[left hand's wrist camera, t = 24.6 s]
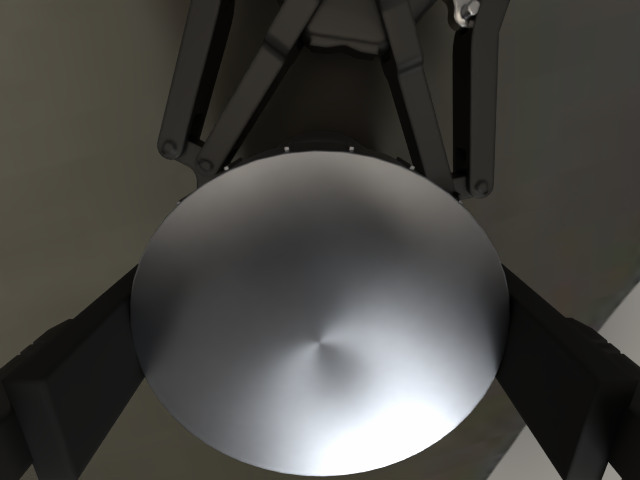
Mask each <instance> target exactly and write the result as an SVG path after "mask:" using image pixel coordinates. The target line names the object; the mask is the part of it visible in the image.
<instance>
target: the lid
mask: <svg viewBox="0 0 640 480" xmlns="http://www.w3.org/2000/svg"><path fill="white" fill-rule="evenodd" d="M414 168H415V167H414V166H412V165H411V164H409V163H407V162H406V161H404V160H403V159H401V158H399V157H397V159H394V158H392V157H390V156H388V155H386V154H383V153H380V152H377V151H373V150H370V149H367V148H364V147H360V146H354V145H352V144H351V143H350V142H349V141H345V144H343V143H332V142H308V143H297V144H294V142H293V141H290V142H289V143H288V144H287V145H285V146H281V147H277V148H272V149H269V150H266V151H263V152H261V153H258V154H255V155H253V156H250V157H248V158H246V159H244V160H242V158H239V159H237V160H236V161H234V162H232V163H231V164H229V165H227V166H226V167H224V169H225V170H224V171H223V172H221V173H220V174H218V175H217V176H215V177H213V178H212V179H210V180H209V181H207V182H206V183H204V184H203V185H201V186H200V187H199V188H198V189H196V190H195V191H193V192H192V193H190V194H189V195H187V196H186V197H184V198H183V199H181V200H179V201H178V202H177V203H176V204H177V206H176V207H175V208H174V209H173V210H172V211H171V212H170V213H169V214H168V215H167V216H166V218H165V219H164V220H163V222H162V223H161V224H160V226H159V227H158V229H157V230H156V231H155V233H154V234H153V236H152V237H151V239H150V241H149V243H148V245H147V247H146V249H145V251H144V253H143V255H142V257H141V259H140V262H139V265H138V268H137V271H136V274H135V277H134V280H133V287H132V293H131V300H130V327H131V333H132V338H133V343H134V348H135V352H136V355H137V358H138V362H139V365H140V367H141V369H142V371H143V373H144V375H145V378H146V380H147V382H148V384H149V385H150V387H151V389H152V390H153V392H154V393H155V395H156V396H157V398H158V399H159V401H160V402H161V403H162V404H163V406H164V407H165V408H166V409H167V410H168V411H169V413H170V414H171V415H172V416H173V417H174V418H175V419H176V420H177V421H178V422H179V423H180V424H181V425H183V426H184V427H185V428H186V429H187V430H188V431H189V432H191V433H192V434H193V435H195V436H196V437H197V438H199V439H200V440H202V441H203V442H204V443H206V444H208V445H209V446H211V447H213V448H215V449H216V450H218V451H220V452H221V453H223V454H225V455H228V456H230V457H232V458H235V459H237V460H239V461H241V462H244V463H247V464H250V465H253V466H256V467H259V468H263V469H267V470H271V471H276V472H280V473H287V474H295V475H304V476H334V475H346V474H353V473H359V472H365V471H369V470H373V469H377V468H381V467H385V466H387V465H390V464H393V463H396V462H398V461H401V460H404V459H406V458H408V457H410V456H412V455H414V454H416V453H419V452H421V451H423V450H424V449H426V448H428V447H429V446H431V445H432V444H434V443H436V442H437V441H439V440H440V439H442V438H443V437H444V436H446V435H447V434H448V433H449V432H451V431H452V430H453V429H454V428H456V427H457V426H458V425H459V424H460V423H461V422H462V421H463V420H464V419H465V418H466V417H467V416H468V415H469V414H470V413H471V412H472V411H473V409H474V408H475V407H476V406H477V404H478V403H479V402H480V401H481V399H482V398H483V397H484V395H485V394H486V392H487V390H488V389H489V387H490V385H491V384H492V382H493V380H494V379H495V376H496V374H497V371H498V369H499V367H500V364H501V362H502V360H503V356H504V352H505V349H506V344H507V340H508V335H509V325H510V300H509V292H508V287H507V282H506V277H505V273H504V270H503V268H502V265H501V262H500V260H499V257H498V255H497V252H496V250H495V248H494V247H493V245H492V243H491V241H490V240H489V238H488V236H487V234H486V233H485V231H484V230H483V228H482V227H481V226H480V225H479V223H478V222H477V221H476V220H475V218H474V217H473V216H472V215H471V213H470V212H469V211H468V210H467V209H466V208H465V207H464V206H463V205H462V203H463V202H462V201H461V200H459V199H458V198H456V197H455V196H453V195H452V194H450V193H449V192H447V191H445V190H444V189H442V188H441V187H439V186H438V185H437V184H435V183H434V182H432V181H431V180H429V179H428V178H426V177H425V176H423V175H422V174H420V173H418V172H417V171H415V170H414Z"/></svg>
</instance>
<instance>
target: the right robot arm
mask: <svg viewBox="0 0 640 480" xmlns="http://www.w3.org/2000/svg"><path fill="white" fill-rule="evenodd" d="M277 1H278V3H279V5H280V7H281V9H280V10H279V12H278V14H277V16H276V17H275V19H274V21H273V22H272V24H271V26H270V28H269V29H268V31H267V33H266V35H265V38H264V41H263V44H262V46H261V48H260V50H259V51H258V53H257V55H256V56H255V58H254V60H253V62H252V63H251V65H250V67H249V68H248V70H247V72H246V73H245V75H244V77H243V79H242V80H241V82H240V84H239V85H238V87H237V89H236V90H235V92H234V94H233V96H232V97H231V99H230V101H229V102H228V104H227V106H226V108H225V109H224V111H223V113H222V114H221V116H220V118H219V119H218V121H217V123H216V125H215V126H214V128H213V130H212V131H211V133H210V135H209V136H208V138H207V140H206V142H203V141H201V140H200V136H201V132H202V129H203V125H204V121H205V118H206V114H207V111H208V107H209V103H210V100H211V96H212V93H213V89H214V85H215V82H216V78H217V74H218V71H219V67H220V64H221V60H222V56H223V53H224V49H225V46H226V42H227V38H228V35H229V31H230V27H231V24H232V19H233V14H234V5H235V0H191V4H190V8H189V12H188V16H187V21H186V25H185V29H184V33H183V37H182V42H181V46H180V50H179V54H178V58H177V63H176V67H175V71H174V75H173V79H172V84H171V88H170V92H169V96H168V100H167V105H166V109H165V113H164V117H163V121H162V125H161V130H160V134H159V138H158V142H157V148H158V151H159V153H160V154H161V155H162V156H163V157H164V158H166V159H170V160H173V159H174V160H176V161H179V162H181V163H183V164H185V165H187V166H188V167H190V168H191V169H192V170H193V171H194V173H195V174H196V177H197V189H198V188H199V187H200V186H201V185H203V184H204V183H206V182H207V181H209V180H210V179H212V178H213V177H215V176H217V175H218V174H220V173H221V172H223V171H224V170H225V169H224V167H226V166H227V165H229V164H231V163H230V162H231V161H232V159H233V157H234V156H235V154H236V153H237V151H238V149H239V148H240V146H241V145H242V143H243V141H244V140H245V138H246V136H247V135H248V133H249V132H250V130H251V128H252V127H253V125H254V124H255V122H256V120H257V119H258V117H259V116H260V114H261V112H262V111H263V109H264V108H265V106H266V104H267V103H268V101H269V99H270V98H271V96H272V95H273V93H274V91H275V90H276V88H277V87H278V85H279V83H280V82H281V80H282V79H283V77H284V75H285V74H286V72H287V71H288V69H289V68H290V66H291V65H292V64H293V63H294V61H295V60H296V58H297V57H298V55H299V54H300V52H301V50H302V49H303V47H304V46H305V47H307V48H309V49H311V52H316V53H323V54H329V53H336V52H344V53H347V54H349V55H351V56H353V57H355V58H359V59H366V60H373V59H374V58H378V57H379V58H380V62H381V65H382V68H383V72H384V74H385V77H386V78H387V80H388V82H389V86H390V89H391V92H392V96H393V99H394V102H395V106H396V109H397V112H398V116H399V119H400V123H401V126H402V129H403V133H404V136H405V139H406V143H407V146H408V149H409V153H410V156H411V160H412V163H413V166H414V167H415V168H414V170H415V171H417V172H418V173H420V174H422V175H423V176H425V177H426V178H428V179H429V180H431V181H432V182H434V183H435V184H437V185H438V186H439V187H441V188H442V189H444V190H445V191H447V192H449V193H450V194H452V195H453V196H455V197H456V198H458V199H459V200H462V199H467V198H471V197H476V198H484V197H486V196H488V195H489V194H490V193H491V191H492V190H493V186H494V159H495V130H496V101H497V71H498V42H499V31H500V28H501V25H502V22H503V19H504V16H505V13H506V10H507V7H508V5H509V2H510V0H443V1H444V2H445V4H446V5H447V8H448V24H449V26H450V27H451V28H452V29H453V30H455V31H456V33H455V37H454V43H453V172H452V173H451V172H450V168H449V164H448V160H447V156H446V153H445V149H444V145H443V141H442V137H441V134H440V130H439V126H438V122H437V118H436V115H435V111H434V107H433V103H432V99H431V96H430V92H429V88H428V84H427V80H426V77H425V73H424V69H423V53H422V48H421V45H420V41H419V37H418V33H417V29H416V25H415V24H416V23H417V22H418V21H419V20H420V19H421V18H422V17H423V15H424V14H425V13H426V12H427V11H428V10H429V9H430V8H431V6H432V5H433V4H434V3H435V2H436V1H437V0H277Z"/></svg>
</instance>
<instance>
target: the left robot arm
mask: <svg viewBox="0 0 640 480" xmlns="http://www.w3.org/2000/svg"><path fill="white" fill-rule="evenodd" d="M138 265H139V264H137V265H136V266H135V267H134V268H133V269H132V270H130V271H129V272H128V273H127V274H126V275H125V276H123V277H122V278H121V279H120V280H119V281H117V282H116V283H115V284H114V285H113V286H112V287H110V288H109V289H108V290H107V291H106V292H105V293H103V294H102V295H101V296H100V297H99V298H97V299H96V300H95V301H94V302H93V303H92V304H90V305H89V306H88V307H87V308H86V309H85V310H83V311H82V312H81V313H80V314H79V315H77V316H76V317H75V318H74V319H68V320H66V321H64V322H62V323H60V324H59V325H57V326H55V327H53V328H51V329H49V330H48V331H46V332H45V333H44V334H43V335H41V336H40V337H39V338H38V339H37V340H35V341H34V342H33V345H29V346H28V347H27V348H25V349H24V350H23V351H22V352H21V354H20V355H17V356H16V357H14V358H13V359H12V360H11V361H9V362H8V363H7V364H6V365H5V366H3V367H2V368H1V369H0V480H19V479H20V478H21V477H22V475H23V474H24V473H25V472H26V470H27V469H28V468H29V467H30V465H31V464H32V463H33V466H34V468H35V471H36V474H37V476H38V479H39V480H78V478H79V477H80V475H81V474H82V472H83V471H84V469H85V467H86V466H87V464H88V463H89V461H90V460H91V458H92V457H93V455H94V454H95V452H96V451H97V449H98V448H99V446H100V445H101V443H102V441H103V440H104V438H105V437H106V435H107V434H108V432H109V431H110V429H111V428H112V426H113V425H114V423H115V422H116V420H117V419H118V417H119V416H120V414H121V412H122V411H123V409H124V408H125V406H126V405H127V403H128V402H129V400H130V399H131V397H132V396H133V394H134V393H135V391H136V390H137V388H138V387H139V385H140V383H141V382H142V380H143V379H144V377H145V375H144V373H143V371H142V369H141V367H140V365H139V362H138V358H137V355H136V352H135V348H134V343H133V338H132V333H131V327H130V300H131V293H132V287H133V280H134V277H135V274H136V271H137V268H138ZM501 265H502V268H503V270H504V273H505V277H506V282H507V287H508V292H509V300H510V325H509V335H508V340H507V344H506V349H505V352H504V356H503V360H502V362H501V364H500V367H499V369H498V371H497V374H496V376H495V377H496V378H497V380H498V382H499V383H500V385H501V386H502V388H503V389H504V391H505V392H506V394H507V395H508V397H509V398H510V400H511V401H512V403H513V404H514V406H515V408H516V409H517V411H518V412H519V414H520V415H521V417H522V418H523V420H524V421H525V423H526V424H527V426H528V427H529V429H530V430H531V432H532V433H533V435H534V437H535V438H536V439H537V441H538V443H539V444H540V446H541V447H542V449H543V450H544V452H545V453H546V455H547V456H548V458H549V459H550V461H551V462H552V464H553V465H554V467H555V469H556V470H557V472H558V473H559V475H560V476H561V478H562V479H563V480H602V477H603V474H604V472H605V469H606V466H607V464H608V462H609V463H610V464H611V466H612V467H613V468H614V469H615V470H616V472H617V473H618V474H619V475H620V477H621V478H622V480H640V367H639V366H638V365H637V364H636V363H634V362H633V361H632V360H631V359H629V358H628V357H627V356H626V355H624V354H621V353H620V351H619V350H618V349H617V348H616V347H614V346H613V345H612V344H611V343H608V342H607V340H606V339H604V338H603V337H602V336H601V335H600V334H598V333H597V332H596V331H595V330H593V329H592V328H590V327H588V326H586V325H585V324H583V323H581V322H579V321H577V320H575V319H573V318H565V317H564V316H563V315H562V314H560V313H559V312H558V311H557V310H556V309H555V308H553V307H552V306H551V305H550V304H549V303H547V302H546V301H545V300H544V299H543V298H542V297H540V296H539V295H538V294H537V293H536V292H535V291H533V290H532V289H531V288H530V287H529V286H527V285H526V284H525V283H524V282H523V281H522V280H520V279H519V278H518V277H517V276H516V275H515V274H513V273H512V272H511V271H510V270H509V269H507V268H506V267H505V266H504V265H503V264H502V263H501Z"/></svg>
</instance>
